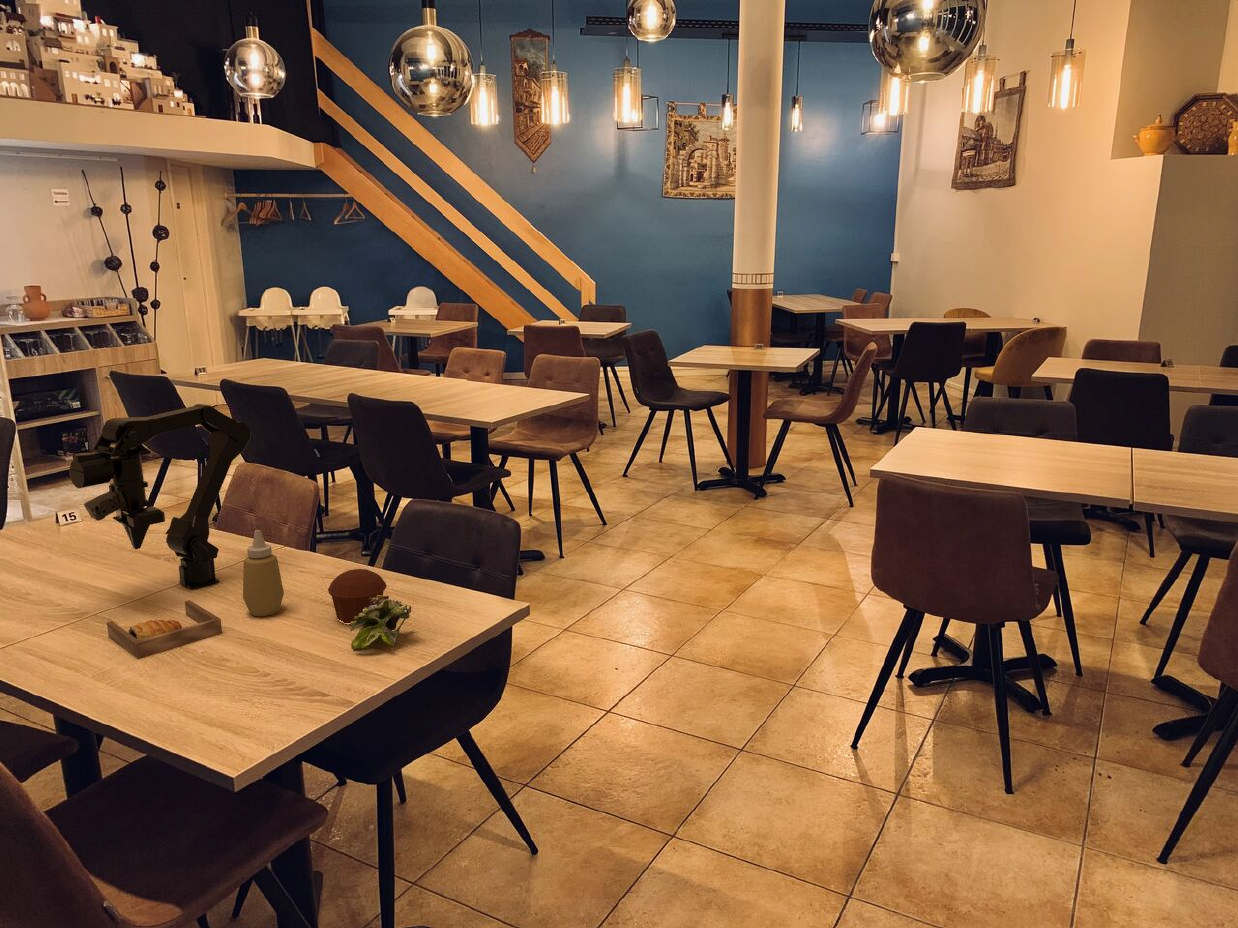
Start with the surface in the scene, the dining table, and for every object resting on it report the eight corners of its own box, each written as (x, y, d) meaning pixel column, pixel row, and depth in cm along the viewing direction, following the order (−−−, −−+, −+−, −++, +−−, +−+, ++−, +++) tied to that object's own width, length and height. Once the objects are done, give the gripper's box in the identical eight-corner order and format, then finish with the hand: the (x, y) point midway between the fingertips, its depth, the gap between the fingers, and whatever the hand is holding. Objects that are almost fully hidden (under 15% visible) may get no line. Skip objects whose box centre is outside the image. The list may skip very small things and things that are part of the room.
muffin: (390, 605, 194) (388, 561, 192) (386, 626, 183) (383, 579, 181) (333, 608, 192) (330, 564, 190) (326, 629, 181) (322, 583, 179)
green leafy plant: (382, 661, 180) (407, 605, 183) (405, 671, 171) (431, 612, 174) (332, 642, 174) (359, 584, 177) (354, 651, 165) (382, 590, 168)
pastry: (174, 626, 183) (172, 608, 182) (189, 635, 179) (187, 618, 178) (125, 640, 176) (123, 622, 175) (139, 651, 172) (137, 632, 171)
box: (190, 613, 189) (189, 599, 188) (222, 632, 179) (220, 618, 179) (108, 636, 177) (106, 622, 177) (137, 658, 168) (135, 643, 167)
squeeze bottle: (293, 608, 192) (287, 527, 188) (264, 622, 185) (257, 538, 181) (265, 602, 195) (258, 522, 191) (235, 615, 188) (227, 533, 184)
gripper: (70, 477, 189) (80, 548, 193) (103, 493, 177) (113, 568, 181) (126, 468, 197) (134, 536, 201) (161, 483, 185) (170, 554, 189)
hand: (137, 548), depth 193 cm, fingers closed
